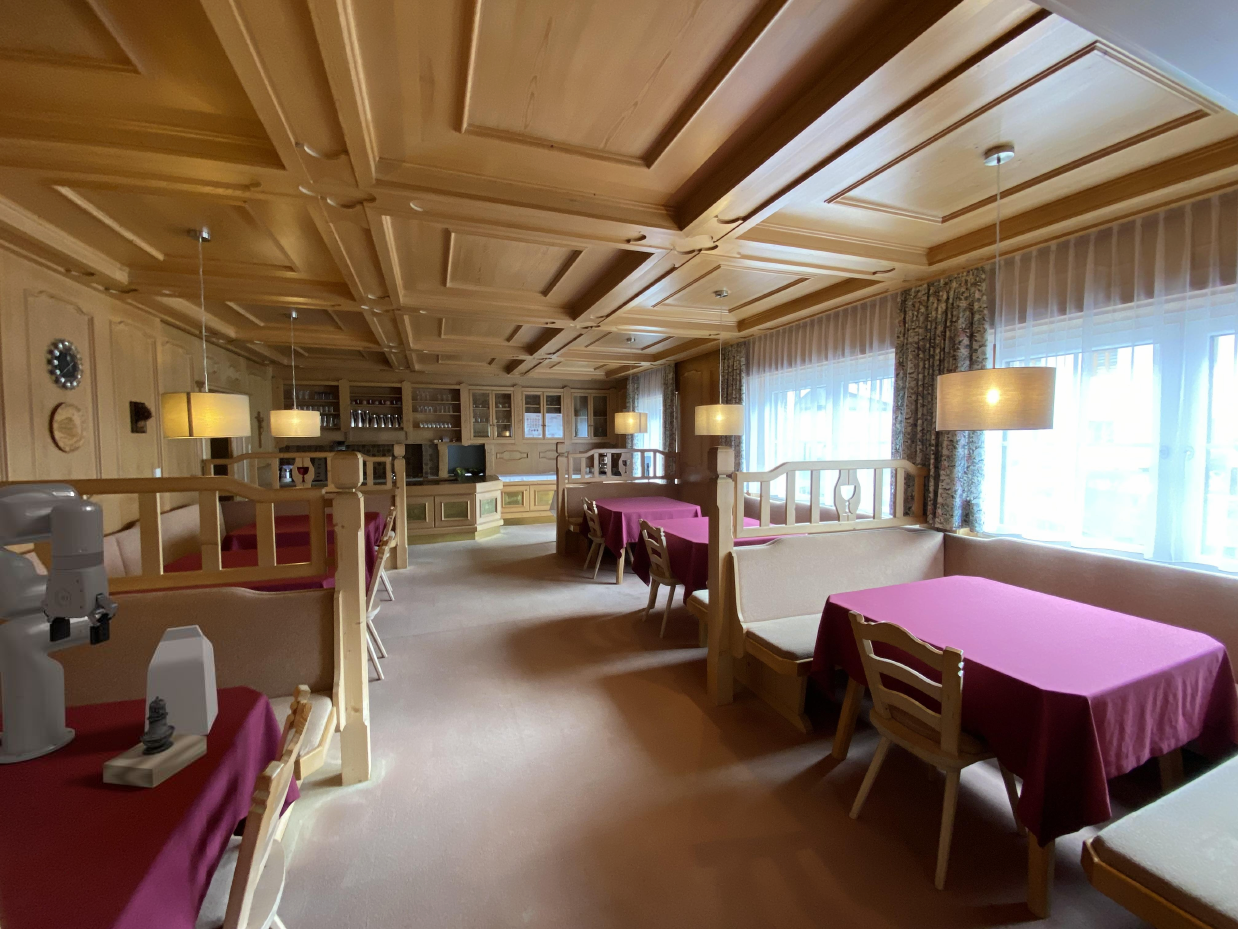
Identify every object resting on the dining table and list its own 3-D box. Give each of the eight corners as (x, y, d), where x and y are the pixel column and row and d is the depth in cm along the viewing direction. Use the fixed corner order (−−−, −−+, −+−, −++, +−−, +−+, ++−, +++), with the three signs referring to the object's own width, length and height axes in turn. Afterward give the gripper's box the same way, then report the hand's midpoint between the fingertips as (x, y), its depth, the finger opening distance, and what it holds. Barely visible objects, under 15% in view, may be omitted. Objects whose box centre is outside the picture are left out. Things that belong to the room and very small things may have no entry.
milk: (143, 747, 118) (142, 639, 117) (159, 723, 128) (157, 624, 127) (208, 733, 124) (207, 631, 123) (218, 712, 134) (217, 617, 133)
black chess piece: (135, 759, 108) (134, 705, 107) (146, 744, 113) (145, 692, 113) (170, 752, 110) (169, 699, 110) (179, 737, 116) (178, 687, 115)
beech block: (103, 782, 106) (103, 764, 106) (161, 748, 118) (161, 731, 118) (153, 787, 105) (152, 769, 105) (206, 753, 117) (206, 736, 117)
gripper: (20, 563, 102) (22, 645, 103) (93, 567, 100) (94, 651, 101) (64, 555, 110) (66, 632, 110) (133, 559, 108) (135, 637, 108)
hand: (80, 641), depth 106 cm, fingers open, 9 cm apart
